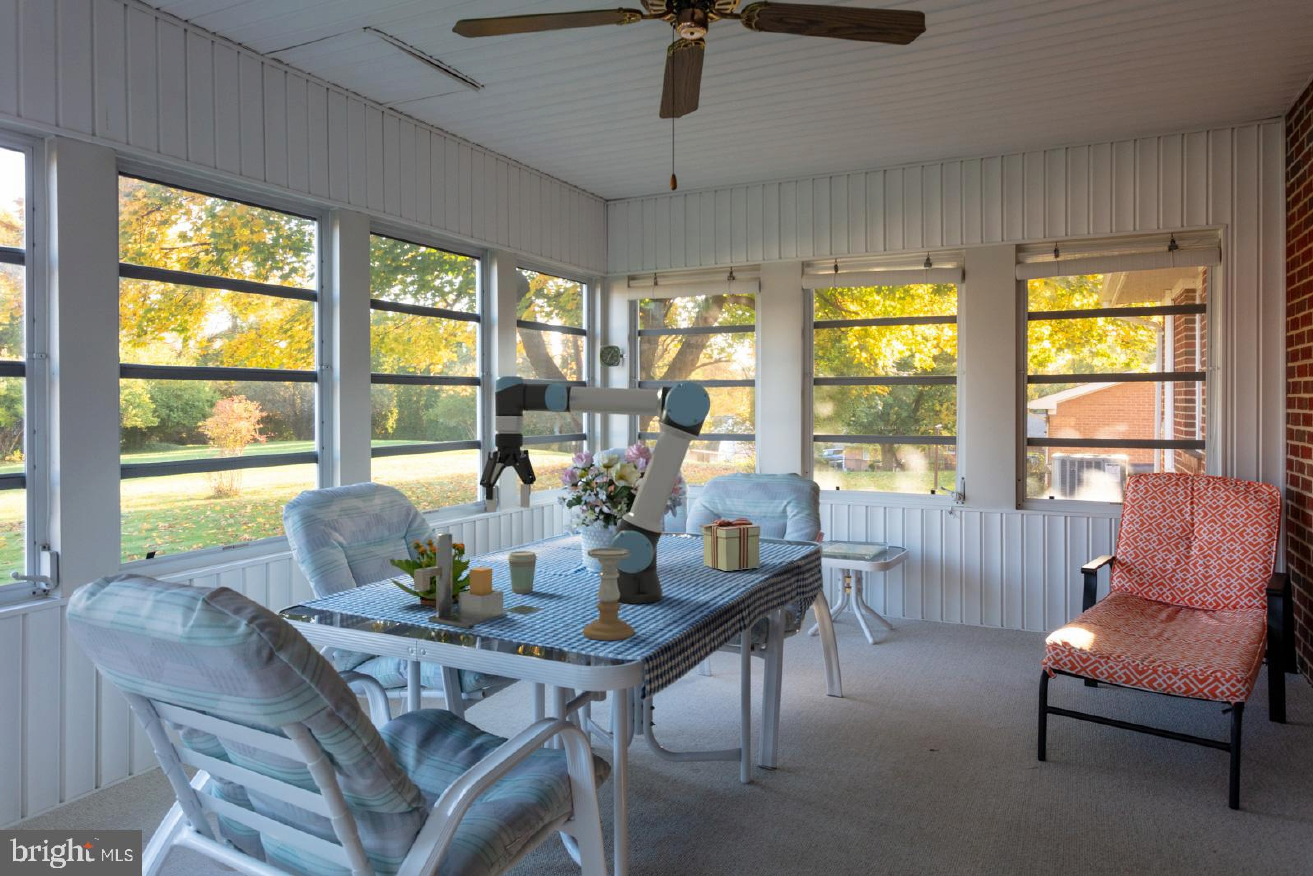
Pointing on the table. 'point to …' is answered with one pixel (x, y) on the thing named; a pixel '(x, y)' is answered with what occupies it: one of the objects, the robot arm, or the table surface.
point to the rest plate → (523, 609)
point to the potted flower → (430, 561)
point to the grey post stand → (469, 605)
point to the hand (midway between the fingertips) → (508, 509)
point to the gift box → (731, 544)
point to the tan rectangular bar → (481, 581)
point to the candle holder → (608, 598)
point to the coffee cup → (522, 571)
